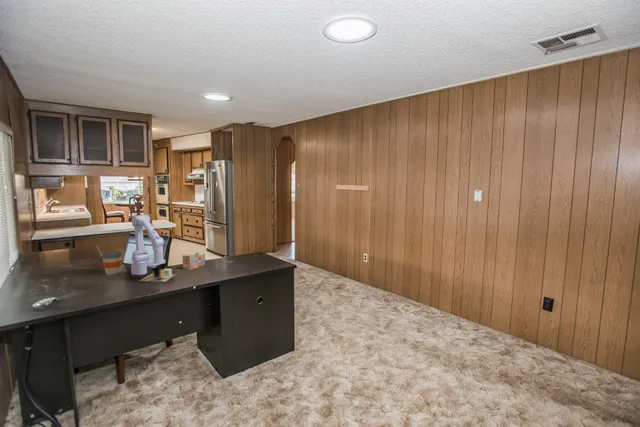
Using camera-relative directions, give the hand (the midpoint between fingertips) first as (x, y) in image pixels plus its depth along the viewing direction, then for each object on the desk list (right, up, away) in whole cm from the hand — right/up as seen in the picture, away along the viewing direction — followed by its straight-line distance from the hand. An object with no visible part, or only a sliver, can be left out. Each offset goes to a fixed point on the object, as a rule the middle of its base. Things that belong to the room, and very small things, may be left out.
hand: (159, 275), depth 219 cm
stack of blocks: (+11, -1, +35) cm, 36 cm away
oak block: (0, -1, 0) cm, 1 cm away
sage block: (+1, -2, +9) cm, 10 cm away
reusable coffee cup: (-43, -2, +17) cm, 46 cm away
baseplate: (-3, -3, +4) cm, 6 cm away
